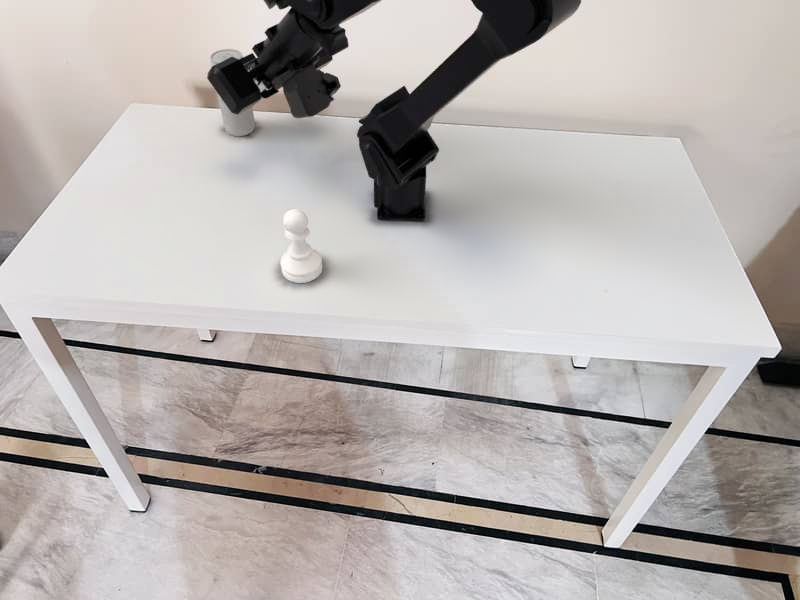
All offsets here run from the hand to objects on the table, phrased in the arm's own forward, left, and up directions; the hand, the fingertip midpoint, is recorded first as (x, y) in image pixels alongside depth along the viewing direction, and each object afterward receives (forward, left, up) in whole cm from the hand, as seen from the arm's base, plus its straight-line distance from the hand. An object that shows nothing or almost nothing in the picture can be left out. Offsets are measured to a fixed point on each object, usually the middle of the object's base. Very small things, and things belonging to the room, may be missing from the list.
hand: (250, 92), depth 89 cm
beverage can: (+3, -3, -8) cm, 9 cm away
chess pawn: (-11, +29, -8) cm, 32 cm away
